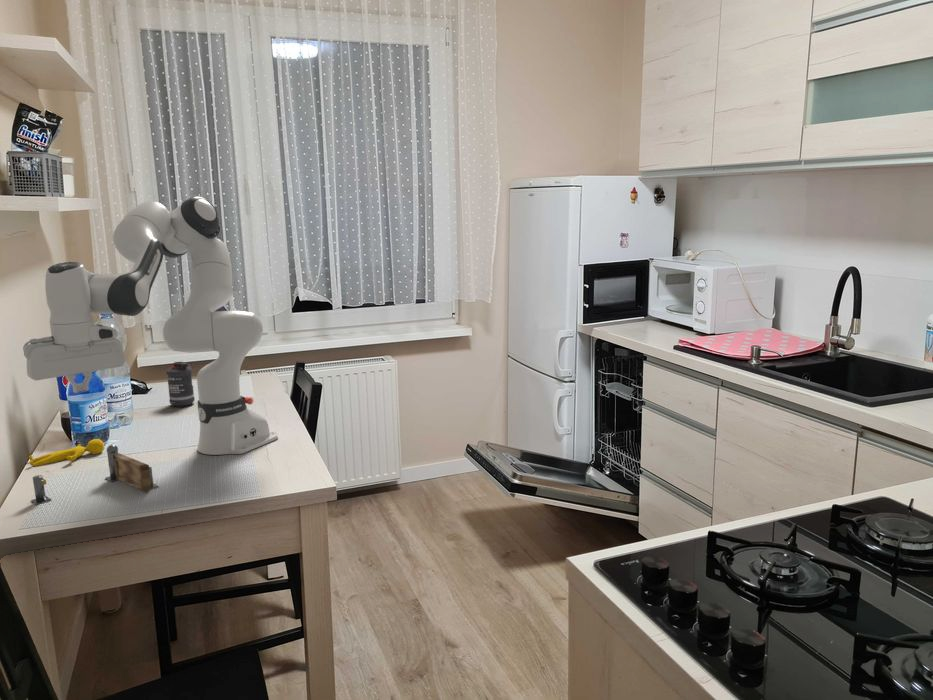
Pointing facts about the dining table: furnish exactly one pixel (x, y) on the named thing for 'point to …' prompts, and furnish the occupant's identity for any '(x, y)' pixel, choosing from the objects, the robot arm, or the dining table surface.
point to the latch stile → (39, 490)
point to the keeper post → (152, 479)
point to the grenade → (180, 384)
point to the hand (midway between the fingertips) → (81, 391)
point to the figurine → (69, 453)
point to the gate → (132, 472)
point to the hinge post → (111, 462)
